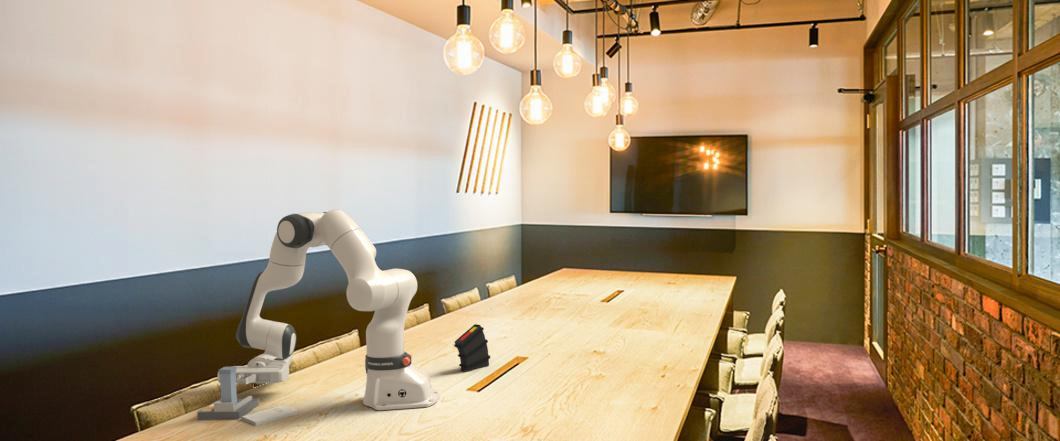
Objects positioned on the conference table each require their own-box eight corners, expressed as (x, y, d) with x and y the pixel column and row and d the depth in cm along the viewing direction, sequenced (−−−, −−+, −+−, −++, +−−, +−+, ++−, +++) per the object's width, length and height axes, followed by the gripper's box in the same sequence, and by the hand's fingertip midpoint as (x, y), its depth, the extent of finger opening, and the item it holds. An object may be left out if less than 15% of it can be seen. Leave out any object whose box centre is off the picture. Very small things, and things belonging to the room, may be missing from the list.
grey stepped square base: (258, 405, 199) (258, 390, 199) (239, 418, 187) (238, 403, 187) (219, 405, 200) (218, 391, 200) (197, 419, 188) (196, 403, 188)
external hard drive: (241, 421, 187) (282, 409, 196) (255, 427, 181) (297, 415, 191) (240, 416, 186) (282, 404, 196) (255, 422, 181) (297, 409, 191)
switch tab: (238, 405, 192) (236, 366, 192) (232, 408, 189) (230, 369, 188) (226, 405, 192) (224, 366, 192) (220, 409, 189) (218, 369, 189)
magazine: (496, 359, 240) (482, 324, 235) (471, 382, 231) (456, 347, 226) (489, 357, 242) (474, 323, 237) (464, 380, 234) (449, 345, 229)
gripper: (229, 360, 212) (206, 371, 199) (292, 359, 211) (274, 371, 198) (230, 379, 213) (207, 392, 199) (293, 379, 212) (275, 392, 198)
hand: (241, 381), depth 198 cm, fingers closed
